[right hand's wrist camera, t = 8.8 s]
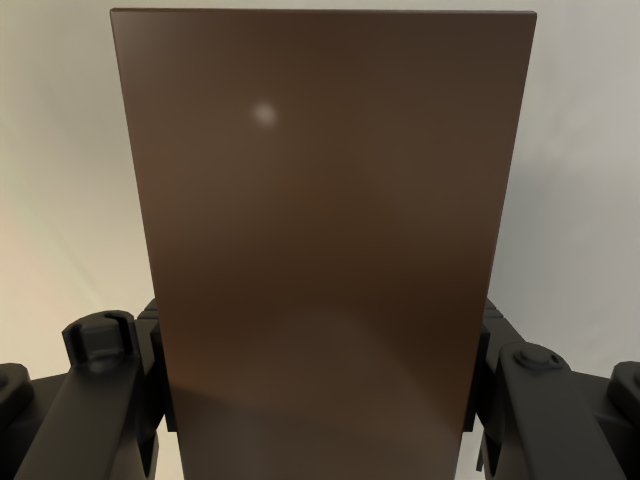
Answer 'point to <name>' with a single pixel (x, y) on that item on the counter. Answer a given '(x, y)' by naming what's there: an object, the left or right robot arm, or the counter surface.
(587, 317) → the counter surface
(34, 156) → the counter surface
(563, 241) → the counter surface
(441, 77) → the bar
